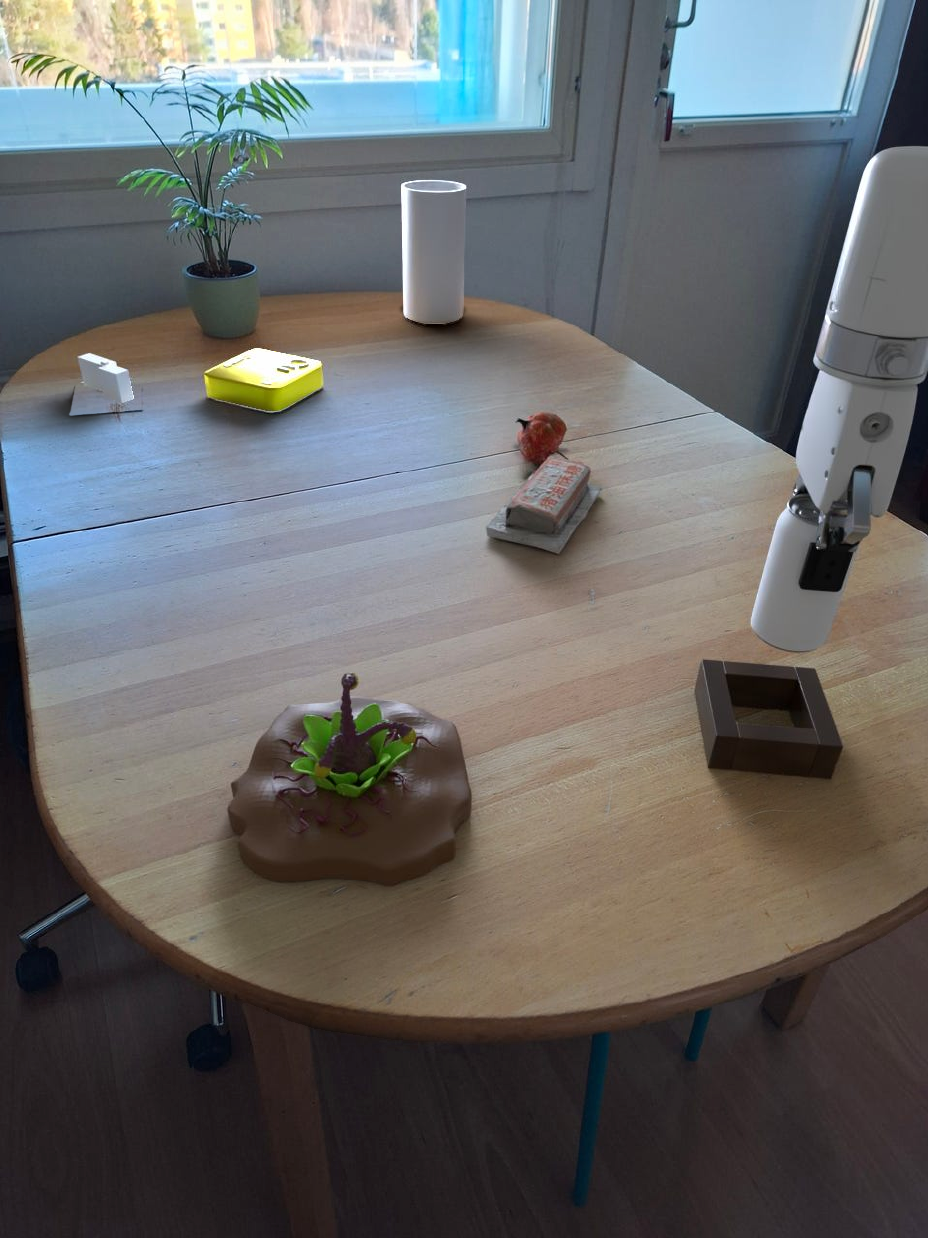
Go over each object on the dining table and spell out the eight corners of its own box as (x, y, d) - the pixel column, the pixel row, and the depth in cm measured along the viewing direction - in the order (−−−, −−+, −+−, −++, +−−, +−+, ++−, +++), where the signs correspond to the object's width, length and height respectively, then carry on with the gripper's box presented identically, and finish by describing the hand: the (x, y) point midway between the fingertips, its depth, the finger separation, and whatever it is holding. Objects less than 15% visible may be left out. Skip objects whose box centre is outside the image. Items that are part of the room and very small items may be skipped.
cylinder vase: (433, 329, 176) (434, 194, 162) (391, 316, 183) (388, 184, 169) (475, 317, 184) (479, 186, 169) (433, 304, 191) (433, 177, 176)
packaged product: (536, 448, 120) (605, 462, 117) (533, 480, 123) (601, 494, 120) (486, 504, 107) (563, 521, 104) (484, 538, 110) (559, 556, 107)
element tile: (257, 370, 155) (254, 343, 153) (328, 386, 150) (326, 358, 147) (201, 398, 144) (197, 370, 142) (276, 416, 139) (273, 387, 136)
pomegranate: (555, 461, 133) (505, 420, 130) (588, 431, 129) (537, 388, 126) (549, 488, 128) (497, 446, 125) (583, 457, 123) (530, 413, 120)
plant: (474, 719, 82) (479, 623, 76) (467, 892, 67) (472, 790, 60) (264, 709, 83) (250, 613, 76) (207, 880, 67) (183, 776, 60)
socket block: (805, 699, 86) (815, 668, 84) (831, 779, 77) (843, 746, 75) (693, 690, 87) (701, 658, 84) (707, 768, 78) (716, 735, 76)
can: (736, 613, 78) (767, 493, 71) (803, 608, 79) (840, 488, 72) (770, 658, 73) (806, 532, 66) (841, 651, 74) (884, 527, 67)
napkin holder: (73, 383, 148) (65, 349, 145) (143, 377, 151) (137, 344, 148) (68, 417, 137) (59, 381, 134) (144, 410, 140) (137, 375, 136)
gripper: (975, 397, 54) (885, 630, 64) (893, 314, 68) (830, 516, 78) (851, 389, 54) (782, 622, 65) (794, 308, 68) (745, 510, 79)
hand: (809, 562), depth 72 cm, fingers closed on can, 6 cm apart
